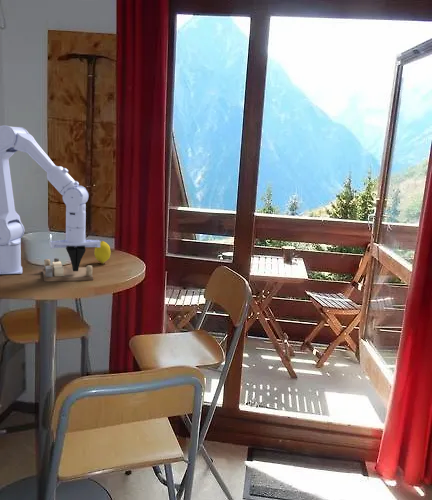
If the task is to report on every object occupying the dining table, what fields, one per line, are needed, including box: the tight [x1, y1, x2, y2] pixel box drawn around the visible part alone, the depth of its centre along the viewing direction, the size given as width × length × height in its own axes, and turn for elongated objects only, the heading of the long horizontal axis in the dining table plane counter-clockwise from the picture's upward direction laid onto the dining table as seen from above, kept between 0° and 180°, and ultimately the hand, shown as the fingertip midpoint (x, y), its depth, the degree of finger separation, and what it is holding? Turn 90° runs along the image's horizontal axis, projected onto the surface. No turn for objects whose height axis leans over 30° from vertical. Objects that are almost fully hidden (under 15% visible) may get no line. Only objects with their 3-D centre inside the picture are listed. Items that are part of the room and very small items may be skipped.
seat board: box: [42, 258, 94, 283], centre depth 151 cm, size 14×12×4 cm
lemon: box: [93, 240, 112, 264], centre depth 169 cm, size 6×6×8 cm
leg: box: [51, 257, 64, 276], centre depth 149 cm, size 10×2×3 cm, turn 22°
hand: (75, 270), depth 149 cm, fingers closed
